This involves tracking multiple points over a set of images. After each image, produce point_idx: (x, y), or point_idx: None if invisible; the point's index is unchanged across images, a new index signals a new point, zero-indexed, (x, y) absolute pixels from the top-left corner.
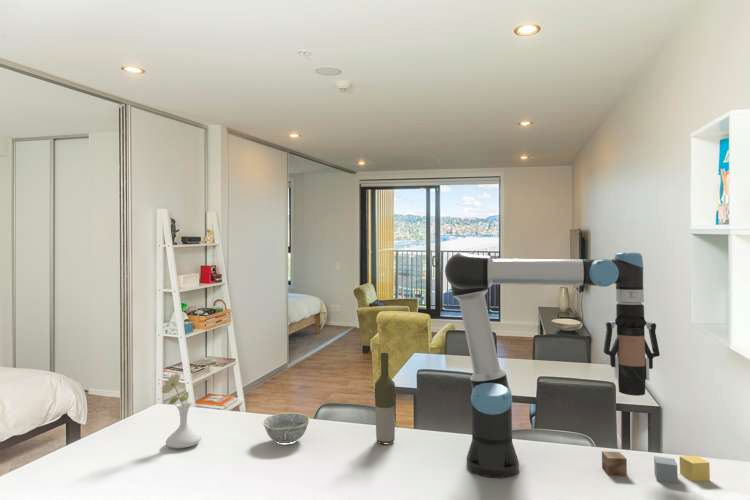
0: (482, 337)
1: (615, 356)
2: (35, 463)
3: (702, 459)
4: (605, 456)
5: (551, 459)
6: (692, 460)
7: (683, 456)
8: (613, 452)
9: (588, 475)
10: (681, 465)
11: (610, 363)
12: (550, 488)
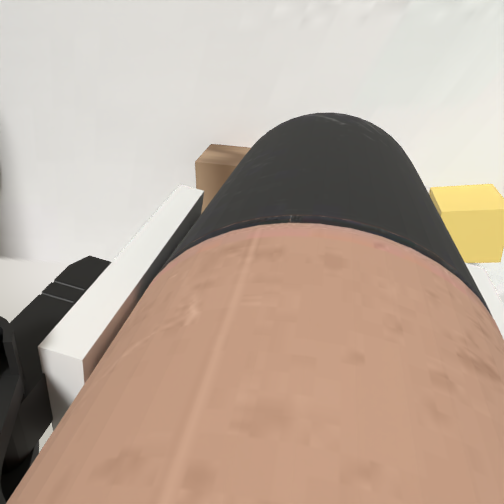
0: None
1: (58, 399)
2: None
3: (501, 239)
4: None
5: (73, 73)
6: (457, 244)
7: (454, 214)
8: (230, 172)
9: (162, 188)
10: (435, 206)
11: (59, 287)
12: (72, 245)
